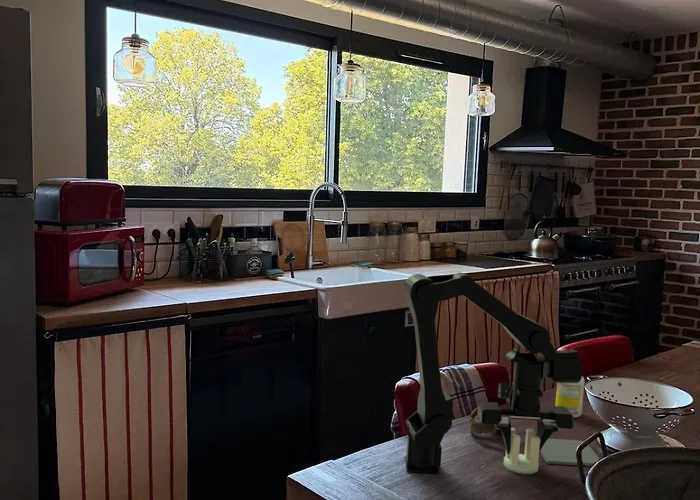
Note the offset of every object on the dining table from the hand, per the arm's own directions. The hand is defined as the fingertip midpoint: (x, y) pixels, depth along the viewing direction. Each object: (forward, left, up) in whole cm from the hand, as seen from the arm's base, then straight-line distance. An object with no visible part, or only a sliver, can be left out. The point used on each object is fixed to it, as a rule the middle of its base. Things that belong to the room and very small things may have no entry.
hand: (521, 454), depth 133 cm
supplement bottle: (+20, +33, -3) cm, 39 cm away
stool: (0, 0, -3) cm, 3 cm away
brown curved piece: (-3, +17, -3) cm, 17 cm away
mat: (+12, +8, -2) cm, 15 cm away
